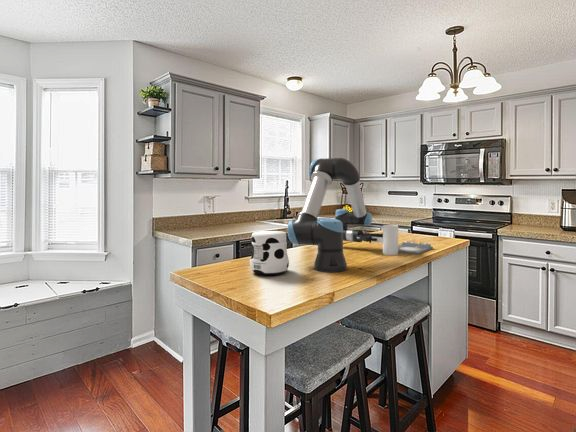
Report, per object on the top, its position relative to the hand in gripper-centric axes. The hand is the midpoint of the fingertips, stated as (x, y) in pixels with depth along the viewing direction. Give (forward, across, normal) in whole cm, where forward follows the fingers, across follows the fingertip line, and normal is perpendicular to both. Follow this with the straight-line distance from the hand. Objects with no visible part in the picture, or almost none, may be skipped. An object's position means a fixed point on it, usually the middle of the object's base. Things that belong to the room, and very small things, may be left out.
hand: (388, 238), depth 197 cm
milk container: (-22, +73, -9) cm, 77 cm away
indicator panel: (+6, -17, -8) cm, 20 cm away
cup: (+2, +1, -9) cm, 9 cm away
